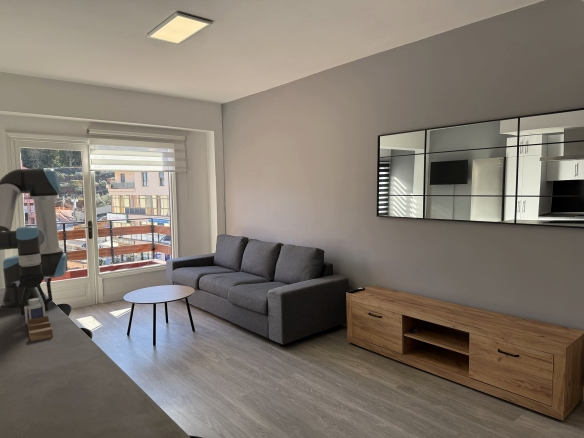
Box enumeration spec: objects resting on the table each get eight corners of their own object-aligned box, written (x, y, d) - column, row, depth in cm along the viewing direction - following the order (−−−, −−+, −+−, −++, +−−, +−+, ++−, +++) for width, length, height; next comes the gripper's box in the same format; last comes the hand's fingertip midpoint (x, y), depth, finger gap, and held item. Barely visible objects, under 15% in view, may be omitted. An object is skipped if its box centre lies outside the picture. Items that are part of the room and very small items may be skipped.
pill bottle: (46, 320, 167) (44, 297, 167) (37, 325, 162) (35, 301, 161) (34, 320, 168) (32, 297, 167) (24, 325, 163) (22, 301, 162)
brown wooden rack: (28, 327, 160) (27, 319, 160) (48, 323, 164) (47, 315, 164) (30, 341, 143) (29, 333, 143) (52, 337, 147) (52, 329, 147)
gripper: (2, 269, 155) (8, 328, 157) (57, 262, 165) (62, 318, 167) (2, 266, 161) (8, 323, 163) (55, 260, 171) (60, 313, 173)
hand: (35, 320), depth 165 cm, fingers closed on pill bottle, 5 cm apart
